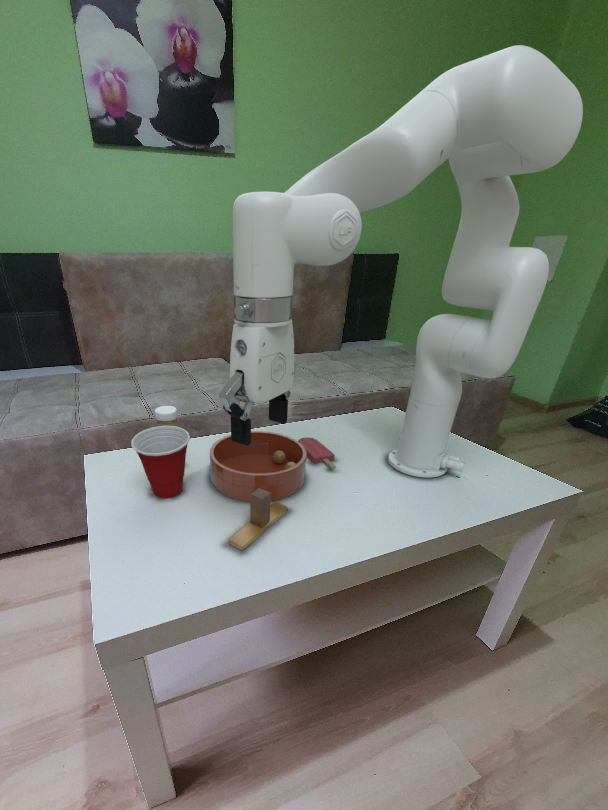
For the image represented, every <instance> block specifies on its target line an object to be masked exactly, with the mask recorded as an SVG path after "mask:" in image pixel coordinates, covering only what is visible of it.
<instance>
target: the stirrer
mask: <svg viewBox="0 0 608 810" xmlns="http://www.w3.org/2000/svg"><path fill="white" fill-rule="evenodd" d="M249 502H250V503H249V505H250V506H249V507H250V509H249V515H250V516H249V522H248V523H247V524H245V525H244V526H243V527H242V528H241V529H239V530H238V531H237V532H236V533H234V534H233V535H232V536H230V537H229V538H228V541H227V542H228V545H230V546H232V547H234V548H236V549H237V550H240V551H241V552H244V551H245V550H246V549H247V548H249V546H250V545H251V544H252V543H254V542H255V541H256V540H257V539H258V538H259V537H260V536H261V535H263V534H264V533H265V532H266V531H267V530H269V528H271V527H272V526H273V525H274V524H275V523H276V522H278V520H280V518H281V517H283V516H284V515H285V514H286V513H287V512H288V510H289V506H287V505H285V504H282V503H279V502H277V501H271V493H270V492H268V491H265V490H263V489H260V488H258V489H257V490H256V491H254V492H253V493H252V494H251V495H250V501H249ZM271 502H272V503H271Z"/></svg>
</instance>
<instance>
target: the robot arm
mask: <svg viewBox="0 0 608 810" xmlns="http://www.w3.org/2000/svg"><path fill="white" fill-rule="evenodd" d="M583 116H584V104H583V101H582V97H581V94H580V91H579V89H578V88H577V87H576V85H575V84H574V83H573V82H572V80H570V79H569V78H568V77H567V75H565V74H564V73H563V72H562V71H561V70H560V68H559V67H558V66H557V65H556V64H555V63H554V62H553V61H552V60H551V59H549V57H547V56H546V55H545V54H544V53H542V52H540V51H539V50H538V49H535V48H534V47H531V46H527V45H522V44H518V45H512V46H508V47H506V48H503V49H500V50H498V51H494V52H492V53H489V54H487V55H483V56H481V57H478V58H475V59H473V60H470V61H467V62H465V63H462V64H459V65H456V66H454V67H452V68H450V69H448V70H446V71H445V72H443V73H442V74H440V75H439V76H438V77H437V78H435V79H433V81H431V82H430V83H429V84H427V86H426V87H424V88H423V89H422V90H421V91H420V92H418V93H417V94H416V95H415V96H414V97H413V98H412V99H410V100H409V101H408V102H407V103H406V104H404V105H403V106H402V107H401V108H400V109H399V110H397V111H395V113H394V114H392V116H390V117H389V118H388V119H387V120H386V121H384V123H382V124H381V125H379V126H378V127H377V128H375V129H374V130H372V131H371V132H370V133H368V134H366V135H365V136H363V137H361V138H360V139H358V140H356V141H355V142H353V143H352V144H350V145H349V146H347V147H346V148H344V149H342V151H340V152H338V153H337V154H335V155H333V156H332V157H330V158H329V159H327V160H325V161H323V162H322V163H320V165H318V166H317V167H316V166H315V168H313V169H311V171H309V172H308V173H306V174H305V175H304V176H302V177H301V178H300V179H299V180H297V181H296V182H295V183H294V184H292V185H291V186H290V187H289V188H288V189H287V190H285V191H284V192H278V191H251V192H246V193H242V194H240V195H238V197H237V198H235V200H234V202H233V206H232V269H233V270H232V272H233V273H232V276H233V323H234V324H233V326H232V333H231V342H230V351H229V353H230V354H229V380H227V383H226V384H225V385H223V387H222V388H221V389H220V391H219V393H218V397H219V400H220V403H221V404H222V409H223V411H225V413H227V416H228V417H230V435H231V439H232V441H234V442H237V443H240V444H243V445H246V446H248V445H250V444H251V431H252V418H251V417H250V418H249V416H250V414H251V411H252V410H253V407H254V404H255V405H263V404H265V403H267V402H268V420H269V421H272V422H276V423H279V424H284V425H285V424H287V423H288V413H289V412H288V411H289V398H290V397H291V389H292V388H293V386H294V380H295V372H296V370H297V365H296V364H295V335H294V326H293V325H294V324H293V320H292V314H293V313H292V311H293V295H294V279H295V278H294V277H295V276H294V275H295V265H306V266H315V267H316V266H318V267H319V266H320V267H327V266H333V265H337V264H339V263H341V262H343V261H344V260H346V259H347V258H348V257H349V256H351V254H352V253H353V252H354V251H355V249H356V248H357V246H358V244H359V241H360V239H361V235H362V231H363V230H362V228H363V223H362V222H363V221H362V216H361V213H363V212H367V211H370V210H375V209H377V208H380V207H383V206H385V205H388V204H391V203H393V202H395V201H398V200H400V199H402V198H404V197H405V196H408V194H410V193H411V192H412V191H414V189H415V188H416V187H418V186H419V185H420V184H421V183H422V182H423V181H424V180H425V179H426V178H427V177H428V176H430V175H431V174H432V173H433V172H434V171H435V170H437V169H438V168H439V167H440V166H441V165H442V164H443V163H445V161H447V160H448V163H449V168H450V170H451V173H452V175H453V178H454V180H455V183H456V185H457V189H458V192H459V196H460V197H459V198H460V205H461V212H460V220H459V224H458V228H457V232H456V235H455V238H454V242H453V245H452V248H451V252H450V255H449V259H448V262H447V266H446V269H445V272H444V276H443V280H442V284H441V296H442V299H443V300H444V301H445V302H446V303H447V304H449V305H452V306H457V307H461V308H468V309H476V310H483V311H492V314H491V319H488V318H481V317H477V316H471V315H463V314H457V313H442V314H437V315H434V316H432V317H431V318H429V319H428V320H426V321H425V322H424V323H423V325H422V326H421V328H420V329H419V332H418V334H417V337H416V343H415V364H414V373H413V379H412V384H411V388H410V393H409V397H408V401H407V406H406V409H405V414H404V417H403V423H402V428H401V431H400V437H399V441H398V444H397V448H395V449H392V450H391V451H390V452H389V453H388V456H387V462H388V464H389V465H390V466H391V467H392V468H394V469H395V470H397V471H398V472H400V473H402V474H406V475H408V476H412V477H417V478H423V479H424V478H430V479H431V478H438V477H441V476H443V475H445V474H446V473H447V471H448V469H451V470H454V471H457V472H463V470H464V467H465V464H466V462H462V461H461V457H457V456H452V455H450V453H448V451H449V447H447V444H448V441H449V437H450V434H451V430H452V427H453V424H454V422H455V417H456V415H457V411H458V409H459V408H458V407H459V405H460V402H461V398H462V394H463V382H462V381H463V380H462V376H461V374H465V375H469V376H473V377H477V378H483V379H489V380H491V379H496V378H500V377H501V376H503V375H505V374H506V373H507V372H508V371H509V370H510V368H512V366H513V364H514V363H515V361H516V359H517V357H518V355H519V352H520V350H521V348H522V346H523V343H524V341H525V339H526V336H527V334H528V331H529V329H530V326H531V324H532V322H533V319H534V316H535V314H536V312H537V309H538V307H539V304H540V302H541V299H542V297H543V295H544V292H545V289H546V285H547V282H548V278H549V273H550V263H549V258H548V256H547V253H545V252H544V251H543V250H541V249H540V248H536V247H531V246H511V241H512V238H513V234H514V232H515V228H516V225H517V222H518V218H519V215H520V200H519V196H518V192H517V190H516V188H515V185H514V183H513V180H512V179H511V177H510V176H516V175H524V174H525V175H526V174H534V173H540V172H543V171H546V170H549V169H551V168H553V167H554V166H556V165H557V164H559V163H560V162H561V161H562V160H563V159H564V158H565V157H566V156H567V155H568V153H569V152H570V151H571V149H572V148H573V147H574V144H575V143H576V140H577V139H578V136H579V134H580V132H581V131H580V130H581V128H582V122H583ZM241 403H244V405H243V408H242V407H241V406H240V404H241Z"/></svg>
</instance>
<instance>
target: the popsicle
mask: <svg viewBox="0 0 608 810" xmlns="http://www.w3.org/2000/svg"><path fill="white" fill-rule="evenodd" d="M297 441H298V442H300V443H301V444H302V445H303V446H304V447H305V449H306V452H307V456H306V458H307V459H309V460H310V461H311V462H312V463H313V464H319V463H325V464H326V465H327V466H328V467H329V468H330V469H336V465H335V464H334V463H333V462H331V461H334V460H335V454H334V453H333V451H332V450H330V449H329V448H328V447H326V446H325V445H324V444H323V443H321V442H320V441H319V440H317V439H316V438H314V437H309V436H308V437H307V436H306V437H305V436H304V437H301V438H299V439H298V440H297Z"/></svg>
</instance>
